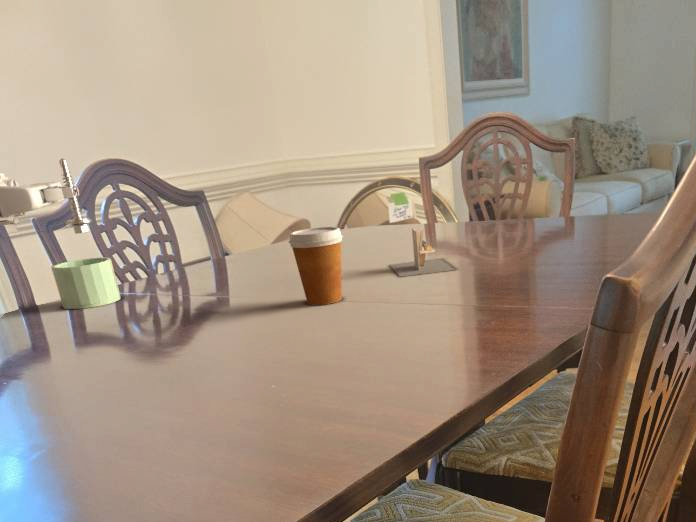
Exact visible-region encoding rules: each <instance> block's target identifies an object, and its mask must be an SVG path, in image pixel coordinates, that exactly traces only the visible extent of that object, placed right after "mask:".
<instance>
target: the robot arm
mask: <svg viewBox="0 0 696 522" xmlns="http://www.w3.org/2000/svg"><path fill="white" fill-rule="evenodd" d="M74 186H75V187H74V189H75V193H77V194H76V196H77V197H79V196H80V191H79V188H78V186H77V185H74ZM74 189H73V188H72V187H67V188H65V186H62V183H61V182H60V181H48V182H46V181H45V182H38V183H30V184H29V183H28V184H23V185H20V184H19V183H18V182H17V180H15V179H14V178H12V179H9V177H8V176H7V175H6V174H5V173H3V172H0V226H9V225H17V224H19V223H20V220H21V217H24V216H26V213H29V212H33V211H36V210H38V209H41V208H45V207H48V206H52V205H54V204H58V203H61V202H64V201H65V200H68V198H73V197H75V193H74Z"/></svg>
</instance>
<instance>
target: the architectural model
mask: <svg viewBox="0 0 696 522" xmlns="http://www.w3.org/2000/svg"><path fill="white" fill-rule="evenodd" d="M411 235H412V236H411V237H412V249H413V262H406V263H398V264H397V263H396V264H390V265H389V266H390V268H392V269H393V270H394V272H396V274H398V276H399V277H408V276H416V275H417V276H418V275H424V274H425V275H426V274H433V273H442V272H449V271H455V270H456V269H455V268H454V267H452V266H451V264H448V263H447V262H446V261H444V260H443V258H439V259H430V260H426V254H430V253H431V254H432V253H436V249H435V248H433V247H432V246H431V245H427V241H425V240H423V239H424V238H423V237H424V229H414V228H411Z"/></svg>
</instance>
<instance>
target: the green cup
mask: <svg viewBox="0 0 696 522" xmlns="http://www.w3.org/2000/svg"><path fill="white" fill-rule="evenodd" d="M50 268H51V271H52V275H53V278H54V282H55V285H56V289H57V292H58V294H59V298H60V301H61V304H62V307H63V309H66V310H82V309H89V308H96V307H101V306H106V305H109V304H113V303H115V302H118V301H120V300H121V298H122V297H121V292H120V289H119V284H118V281H117V277H116V273H115V269H114V265H113V262H112V259H111V258H110V257H107V256H106V257H92V258H90V257H89V258H81V259H75V260H70V261H69V260H68V261H64V262H61V263H57V264H54V265H52V266H50Z"/></svg>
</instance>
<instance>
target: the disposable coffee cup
mask: <svg viewBox="0 0 696 522" xmlns="http://www.w3.org/2000/svg"><path fill="white" fill-rule="evenodd" d="M342 238H343V234H342V233H341V230H340V227H338V226H320V227H311V228H305V229H299V230H295V231H291V232H290V234H289V240H288V244H290V248H292V252H293V256H294V260H295V263H296V267H297V270H298V273H299V274H298V275H299V277H300V281H301V284H302V288H303V292H304V295H305V299H306V303H307V305H312V306H319V305H330V304H334V303H338V302H340V301H342V299H343V296H342V295H343V294H342V293H343V291H342V290H343V289H342V288H343V287H342V241H343V239H342Z"/></svg>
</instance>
